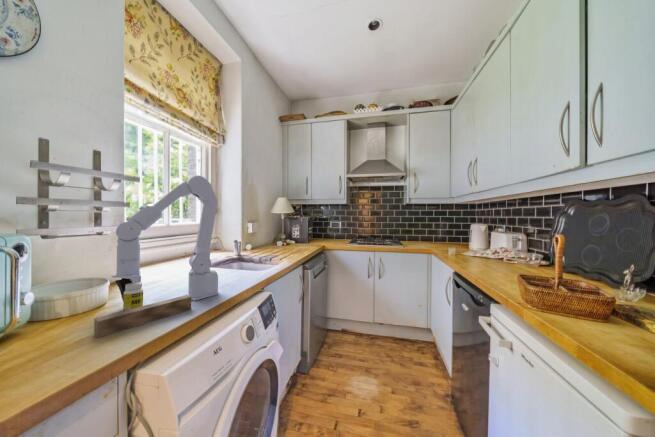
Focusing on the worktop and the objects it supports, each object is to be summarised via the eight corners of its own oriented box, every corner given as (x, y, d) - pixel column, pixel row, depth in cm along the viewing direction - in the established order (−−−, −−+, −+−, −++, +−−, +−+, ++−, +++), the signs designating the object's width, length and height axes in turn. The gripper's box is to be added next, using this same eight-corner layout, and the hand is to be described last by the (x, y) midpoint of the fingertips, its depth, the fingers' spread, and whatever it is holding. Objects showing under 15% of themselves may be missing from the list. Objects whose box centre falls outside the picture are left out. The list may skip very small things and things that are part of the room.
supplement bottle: (131, 314, 71) (132, 286, 71) (118, 312, 72) (119, 285, 72) (146, 308, 75) (147, 282, 75) (134, 307, 76) (135, 281, 76)
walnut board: (186, 307, 77) (186, 294, 77) (191, 309, 76) (191, 296, 76) (94, 334, 59) (94, 318, 59) (97, 337, 57) (97, 321, 57)
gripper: (104, 258, 77) (104, 300, 77) (120, 264, 69) (119, 310, 69) (131, 255, 82) (131, 294, 83) (149, 260, 74) (148, 303, 75)
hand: (127, 301), depth 76 cm, fingers closed
